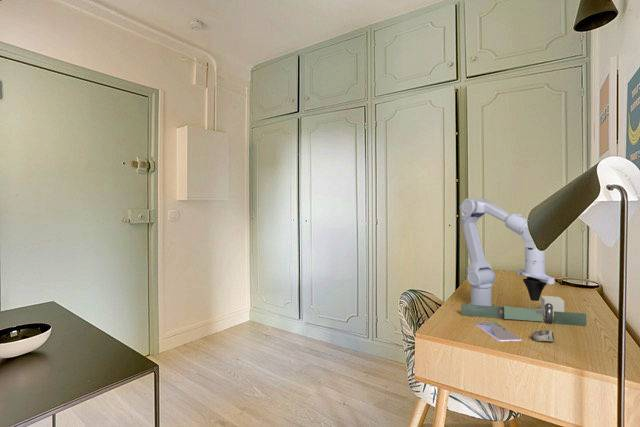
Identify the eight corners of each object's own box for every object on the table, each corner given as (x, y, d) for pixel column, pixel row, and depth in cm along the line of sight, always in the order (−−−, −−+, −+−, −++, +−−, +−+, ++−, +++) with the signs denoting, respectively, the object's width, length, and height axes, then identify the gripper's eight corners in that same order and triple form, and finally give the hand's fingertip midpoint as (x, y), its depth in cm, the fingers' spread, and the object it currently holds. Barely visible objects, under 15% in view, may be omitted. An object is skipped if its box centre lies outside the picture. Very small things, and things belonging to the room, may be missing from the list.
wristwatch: (544, 337, 100) (560, 341, 95) (529, 341, 98) (545, 345, 94) (542, 325, 100) (558, 329, 96) (527, 330, 99) (542, 333, 94)
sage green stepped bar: (542, 320, 113) (542, 307, 113) (544, 321, 111) (544, 309, 111) (503, 317, 116) (503, 305, 116) (504, 318, 115) (504, 306, 114)
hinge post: (543, 321, 113) (543, 302, 113) (583, 324, 110) (583, 304, 110) (546, 323, 111) (546, 304, 111) (587, 326, 107) (587, 306, 107)
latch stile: (461, 314, 121) (461, 303, 121) (504, 317, 117) (504, 306, 117) (461, 315, 120) (461, 305, 120) (505, 318, 116) (505, 307, 116)
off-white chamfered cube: (564, 317, 117) (564, 301, 117) (544, 315, 119) (544, 299, 119) (559, 312, 122) (559, 296, 122) (540, 310, 125) (540, 295, 125)
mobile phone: (499, 339, 97) (474, 321, 112) (499, 342, 97) (474, 324, 112) (524, 339, 97) (495, 321, 112) (524, 342, 97) (495, 324, 112)
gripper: (509, 257, 116) (509, 294, 117) (539, 264, 102) (539, 307, 102) (528, 257, 117) (528, 294, 117) (560, 264, 102) (560, 306, 103)
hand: (534, 300), depth 110 cm, fingers closed
